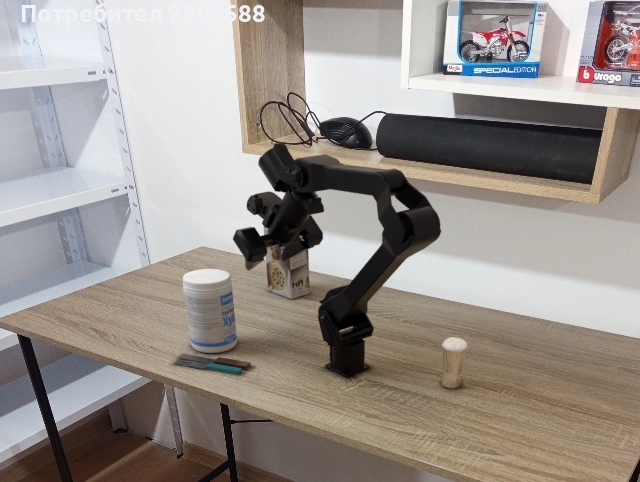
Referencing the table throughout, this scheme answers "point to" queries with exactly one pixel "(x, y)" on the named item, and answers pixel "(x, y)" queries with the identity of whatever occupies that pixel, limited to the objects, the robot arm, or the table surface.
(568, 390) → the table surface
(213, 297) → the supplement tub
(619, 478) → the table surface
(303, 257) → the coffee box
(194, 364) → the fork
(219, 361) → the knife
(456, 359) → the milkshake
